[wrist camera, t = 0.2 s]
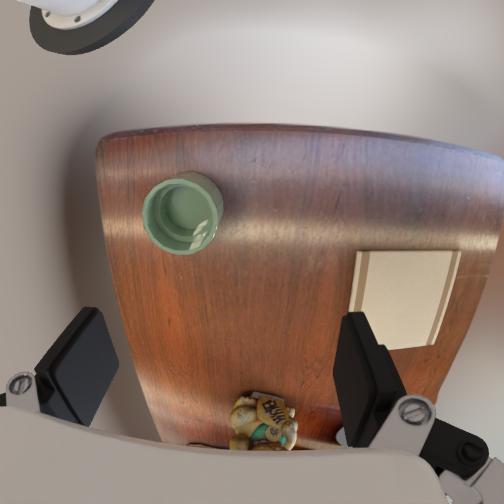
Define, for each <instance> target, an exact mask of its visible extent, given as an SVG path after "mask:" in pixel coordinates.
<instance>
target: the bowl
mask: <svg viewBox="0 0 504 504" xmlns="http://www.w3.org/2000/svg"><path fill="white" fill-rule="evenodd" d="M223 212H224V209H223V198H222V196H221V193H220V191H219V189H218V187H217V186H216V185H215V184H214V183H213V182H212V181H211V180H210V179H208V178H207V177H206V176H203V175H201V174H198V173H195V172H184V173H178V174H176V175H174V176H172V177H170V178H168V179H167V180H165V181H163V182H161V183H160V184H158V185H156V186H155V187H154V188H153V189H152V190H151V191H150V193H149V194H148V195H147V197H146V198H145V201H144V205H143V209H142V218H143V225H144V228H145V230H146V232H147V234H148V236H149V237H150V239H151V240H152V241H153V242H154V243H155V244H156V245H157V246H159V247H160V248H161V249H162V250H165V251H168V252H170V253H173V254H192V253H194V252H197V251H199V250H201V249H203V248H204V247H205V246H206V245H207V244H208V243H209V242H210V241H211V240H212V239H213V237H214V235H215V233H216V230H217V228H218V226H219V224H220V221H221V218H222V216H223Z"/></svg>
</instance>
